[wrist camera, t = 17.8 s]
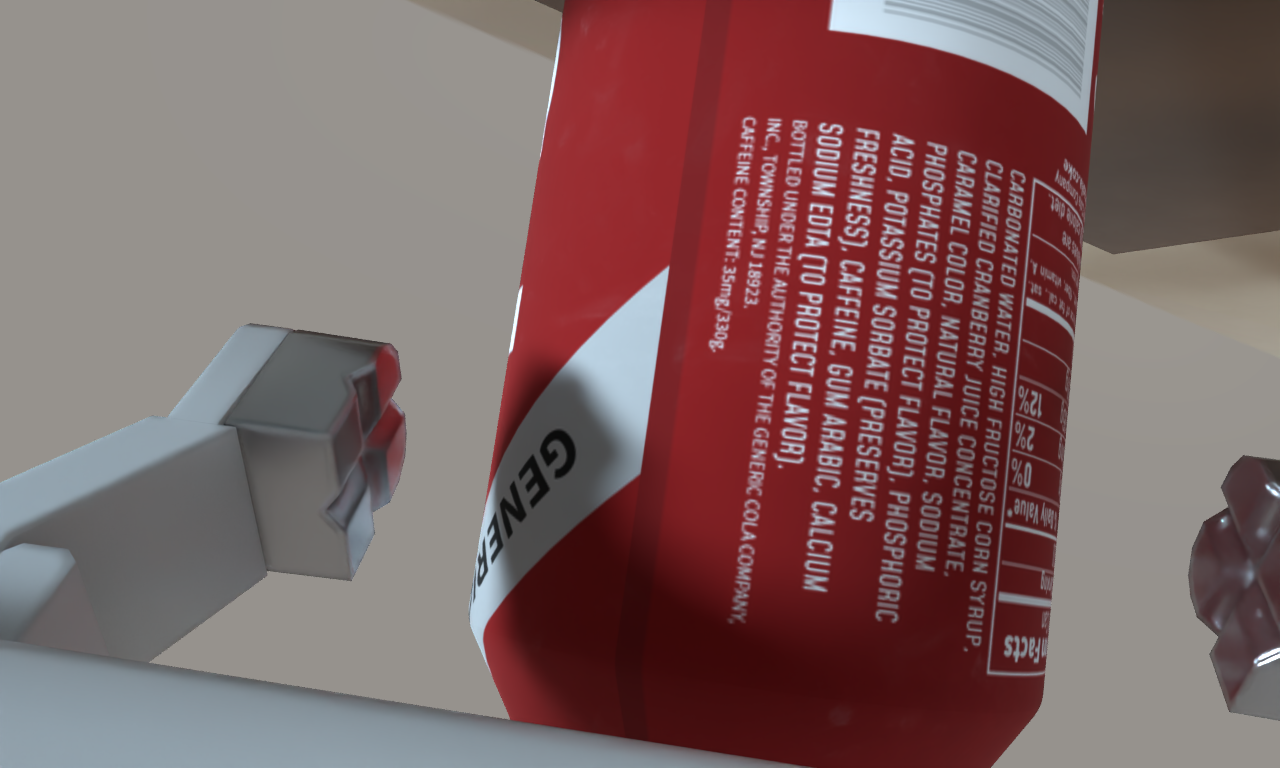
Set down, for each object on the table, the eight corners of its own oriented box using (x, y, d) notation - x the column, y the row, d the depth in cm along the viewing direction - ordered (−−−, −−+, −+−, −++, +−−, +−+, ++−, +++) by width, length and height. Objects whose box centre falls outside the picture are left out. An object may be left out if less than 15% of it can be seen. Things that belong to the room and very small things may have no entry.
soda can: (894, -436, 10) (726, 948, 8) (1214, -94, 14) (1142, 873, 13) (493, -151, 15) (341, 742, 14) (815, 39, 20) (728, 738, 18)
